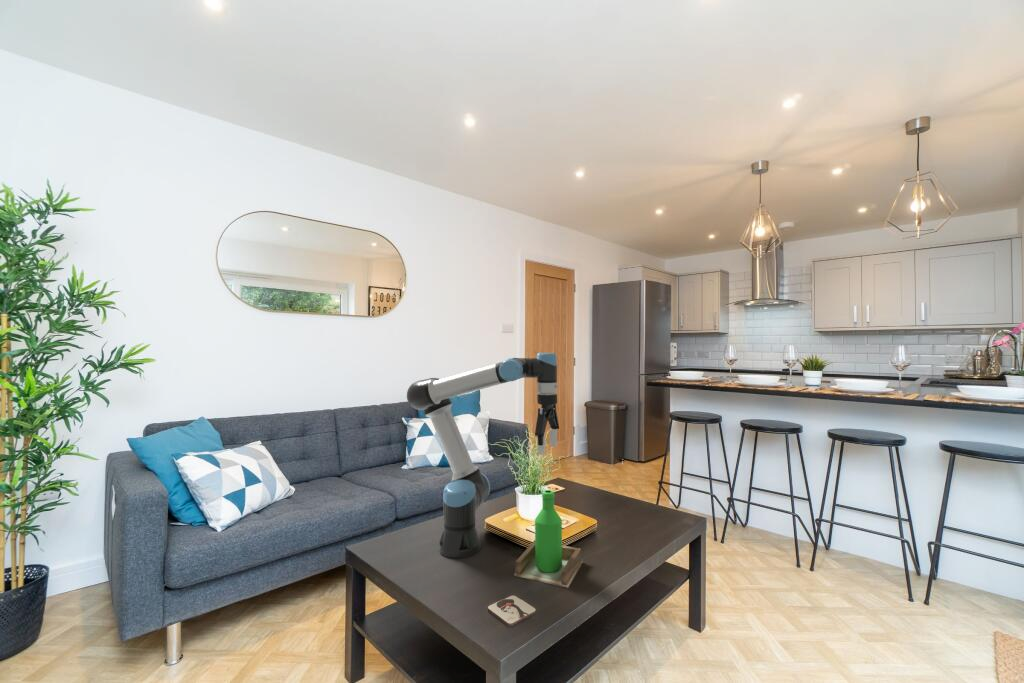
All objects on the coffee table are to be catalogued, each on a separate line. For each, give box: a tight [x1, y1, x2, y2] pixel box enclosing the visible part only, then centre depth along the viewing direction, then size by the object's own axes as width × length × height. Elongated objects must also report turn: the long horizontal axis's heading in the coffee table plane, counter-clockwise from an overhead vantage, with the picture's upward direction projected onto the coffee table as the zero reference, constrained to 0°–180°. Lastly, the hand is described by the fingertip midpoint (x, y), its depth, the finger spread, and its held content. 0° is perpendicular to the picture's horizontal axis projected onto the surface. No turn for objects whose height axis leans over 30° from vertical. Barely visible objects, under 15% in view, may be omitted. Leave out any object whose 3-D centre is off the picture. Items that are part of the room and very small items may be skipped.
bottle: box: [534, 489, 563, 573], centre depth 146 cm, size 9×9×25 cm
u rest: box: [513, 539, 584, 589], centre depth 147 cm, size 18×17×5 cm
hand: (547, 449), depth 167 cm, fingers open, 13 cm apart
